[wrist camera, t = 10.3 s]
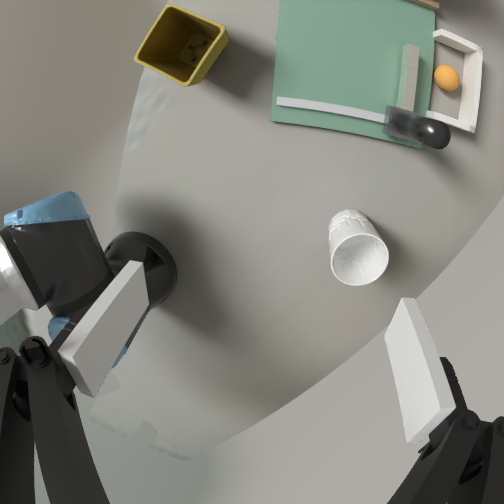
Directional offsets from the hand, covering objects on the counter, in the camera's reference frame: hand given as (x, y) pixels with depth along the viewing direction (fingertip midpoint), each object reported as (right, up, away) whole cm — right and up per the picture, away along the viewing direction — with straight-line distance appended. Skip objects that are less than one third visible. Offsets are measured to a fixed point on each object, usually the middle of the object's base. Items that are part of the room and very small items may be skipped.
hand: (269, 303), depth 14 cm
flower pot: (-8, +31, +21) cm, 38 cm away
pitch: (+14, +30, +18) cm, 37 cm away
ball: (+27, +27, +15) cm, 41 cm away
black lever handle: (+20, +24, +18) cm, 36 cm away
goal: (+28, +28, +17) cm, 43 cm away
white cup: (+14, +6, +31) cm, 35 cm away
